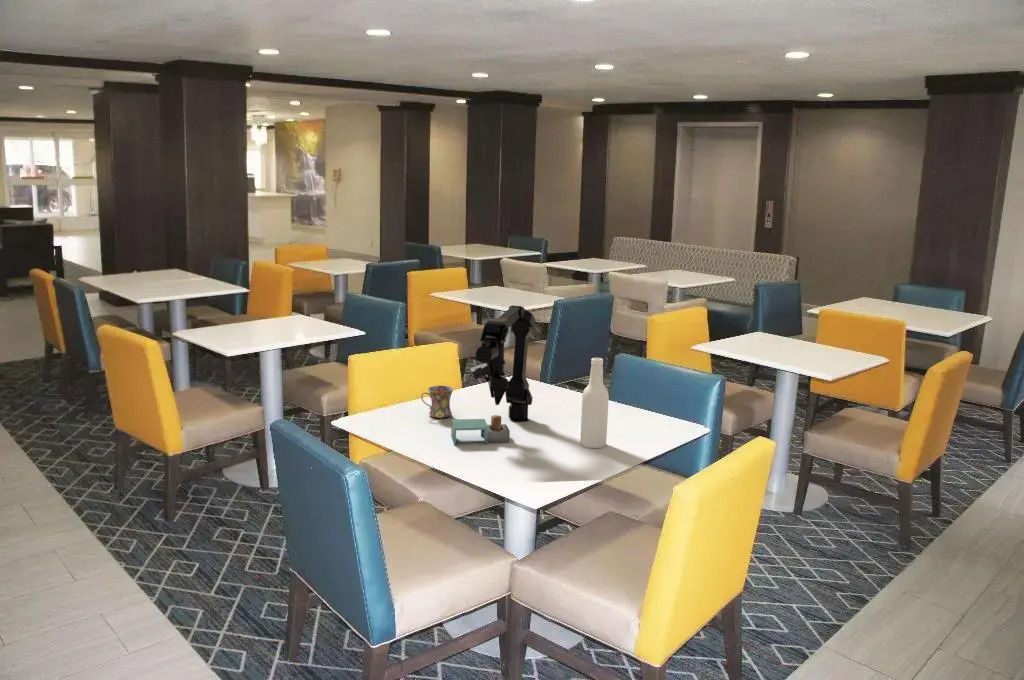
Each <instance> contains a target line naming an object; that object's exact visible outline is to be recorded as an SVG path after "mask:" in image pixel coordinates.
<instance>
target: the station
mask: <svg viewBox="0 0 1024 680" xmlns="http://www.w3.org/2000/svg"><path fill="white" fill-rule="evenodd" d="M450 423H451V424H450V425H451V426H450V427H451V431H450V432H451V434H450V435H451V436H450V437H451V441H452V444H453V446H457V431H480V437H483V439H484V445H485V446H486V445H487V444H500V443H501V444H505V443H506V444H507V443H508V444H509V443H510V441H511V440H510V439H511V438H510V435H511V434H510V433H511V432H510V429H509V427H508V426H507V424H506V423H505V424H504V423H503V424H502V423H501V430H491V424H488V423H487V422H486V419H485V418H463V419H451V422H450ZM487 446H488V445H487Z"/></svg>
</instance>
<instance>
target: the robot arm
mask: <svg viewBox="0 0 1024 680" xmlns="http://www.w3.org/2000/svg"><path fill="white" fill-rule="evenodd" d="M535 325H536V317H535V316H534V315H533V313H532V312H530V311H528V310H526V308H525V307H524V306H522V305H513V304H512V305H510V306H509V307H508V308H507V310H506V311H505V312H503V313H502V314H501V315H500V316H498V317H495V318H491V319H488V320H486V323H485V324H484V326H483V329H482V332H481V337H480V339H479V341H480V342H481V346H479V347H478V348H477V350H476V351H475V356H476V359H477V361H479V363H481V364H478V365H475V366H472V367H471V368H469V370H470V372H471V376H472V377H473V380H475V381H476V380H479V379H480V378H483V379H485V381H486V382H487V383H488V388H489V393H490V397H491V398H492V399H494V404H495V406H500V403H501V401H502V399H503V397H504V395H505V399H506V400H505V401H506V404H510V405H509V406H508V418H509V419H510V421H511V422H528V421H529V406H530V405H533V404H532V403H533V399H534V398H533V395H532V393H531V391H530V384H529V382H528V380H527V378H526V371H527V361H528V359H527V358H528V347H529V346H528V345H529V338H530V336H531V335H532V334H533V333H534V327H535ZM510 327H511V331H512V333H513V335H514V338H515V339H514V350H513V351H514V352H513V365H512V374H511V375H512V376H511V378H510V379H508V378H507V377H506V373H505V365H506V361H505V343H506V341H507V337H508V334H509V333H510V329H509V328H510Z"/></svg>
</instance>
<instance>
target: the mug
mask: <svg viewBox="0 0 1024 680" xmlns="http://www.w3.org/2000/svg"><path fill="white" fill-rule="evenodd" d="M427 390H428V392H429V393H428V392H423V393H421V395H420V398H421V401H422V402H423V404H424V405H426V406H427V407H429V408H428V409H429V410H430V411H429V413H428V414H429V416H430V417H433V418H436V419H444V418H449V417H451V416H452V414H453V412H452V411H451V406H450V404H451V403H450V401H451V396H452V394H453V391H454V388H453V387H452V386H448V385H433V386H430V387H428V389H427ZM426 394H427V395H428V396H429V398H430V399H431V405H430V404H429V403H427V402H425V400H424V399H423V396H424V395H426Z"/></svg>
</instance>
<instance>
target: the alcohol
mask: <svg viewBox="0 0 1024 680" xmlns="http://www.w3.org/2000/svg"><path fill="white" fill-rule="evenodd" d="M590 364H591V366H590V373H589V382H588V385H587V386H586V387H585V388H584V389H583V391H582V395H581V397H582V399H581V417H580V418H581V419H580V420H581V422H580V439H579V440H580V441H579V442H580V444H581V446H582V445H583V446H582V447H584V446H585V447H584V448H586V447H588V449H592V448H598V449H602V447H603V448H604V447H605V446H606V445H607V437H608V436H607V435H608V419H609V415H608V414H609V400H610V399H609V397H610V396H609V391H608V390H607V388H606V387H605V385H604V365H603V364H604V359H603V358H601V357H592V358H591V362H590Z"/></svg>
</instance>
